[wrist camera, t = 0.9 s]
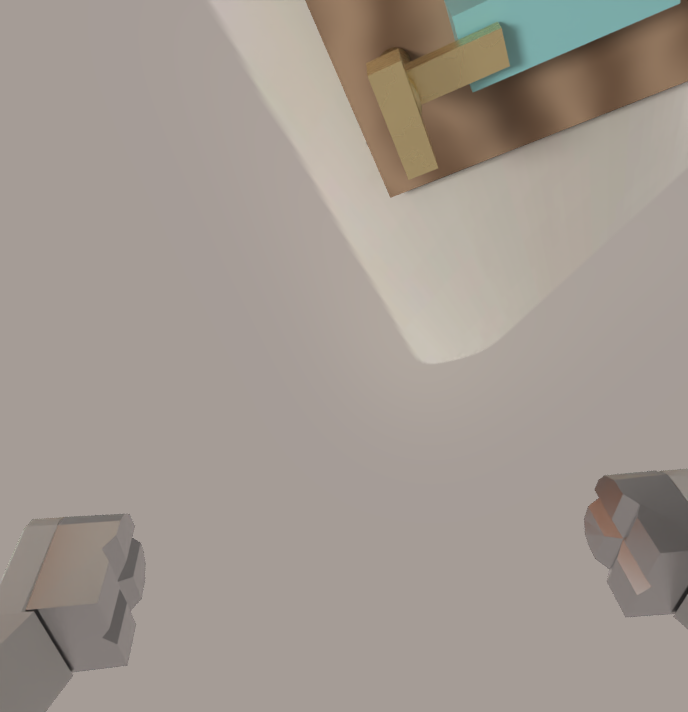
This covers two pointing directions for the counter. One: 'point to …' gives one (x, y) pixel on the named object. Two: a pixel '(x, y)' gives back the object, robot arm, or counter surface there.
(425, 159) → the t key
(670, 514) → the robot arm
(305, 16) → the counter surface
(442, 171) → the base
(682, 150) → the counter surface
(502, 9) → the cover
